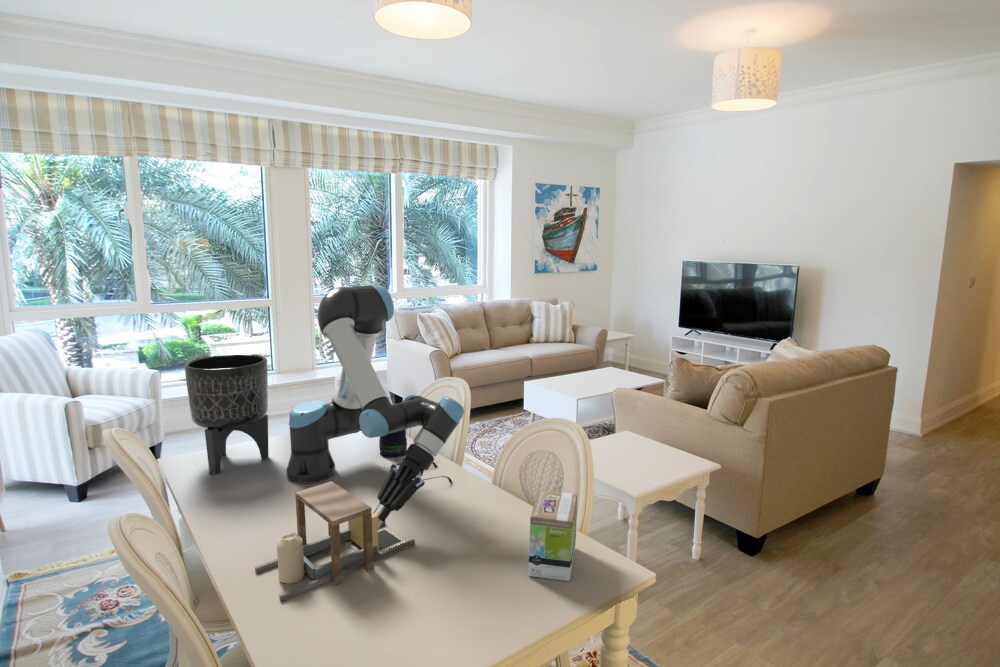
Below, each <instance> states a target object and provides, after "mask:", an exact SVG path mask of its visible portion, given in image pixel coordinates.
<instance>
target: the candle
mask: <svg viewBox="0 0 1000 667" xmlns="http://www.w3.org/2000/svg"><path fill="white" fill-rule="evenodd" d="M276 555H277V557H276V558H277V559H278V566H277V568H278V569H277V573H278V580H279V582H280V583H283V584H286V585H287V584H294V583H297V582H299V581H301V580H302V579H303V578H304V577H305V571H304V554H303V539H302V538H301V537H300V536H298V533H295V532H293V533H290V534H288V535H284V536H282V537H280V539H279V540H278V541H277V543H276Z"/></svg>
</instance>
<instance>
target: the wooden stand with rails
mask: <svg viewBox="0 0 1000 667" xmlns="http://www.w3.org/2000/svg"><path fill="white" fill-rule="evenodd" d="M294 494H295V509H296V510H295V512H296V530H297V535H298V536H300V537H301V538H302V539H303V545H306V544H308V542H307V527H306V526H307V525H306V524H307V523H306V522H307V521H306V508H305V506H306V507H307V508H308V509H310V510H312V512H314V513H315V514H317V515H318V516H319V517H321V518H322V519H323V520H324V521H325V522H327V526H328V527H327V528H328V529H327V530H328V536H330V538H331V547H330V554H331V556H330V558H331V561H332V573H330V574H328V575H326V576H323V577H321V578H318V579H313V580H311V581H309V582H306V583H304V584H301V585H299V586H297V587H295V588H294V587H293V588H292V589H290V590H287V591H285V592H283V593H280V594H279V601H280V602H284V601H286V600H288V599H290V598H293V597H296V596H297V595H300V594H302V593H304V592H305V593H306V592H307V591H309V590H312V589H314V588H317V587H319V586H321V585H323V584H326V583H328V582H331V581H332V583H333V584H334V585H335V586H337V585H339V584H341V583H343V581H342V580H343V578H342V577H343V576H344V575H347V574H349V573H351V572H354V571H357V570H359V569H361V568H363V567H364V568H363V569H364V570H366V571H367V572H369V571H371V570H374V563H375V562H378V561H380V560H382V559H384V557H385V558H387V557H389V556H391V554H392V555H394V554H396V552H397V553H399V552H401V551H404V550H405V549H404V548H406V547H408V548H410V547H409V546H411V545H413V546H415V545H416V540H415V539H413V538H412V539H409V540H407V541H406V542H405V543H402V544H400V545H398V546H395V547H393V548H390V549H388V550H386V551H383V552H381V553H378V554H376V555H374V556H373V541H372V513H373V511H372V507H371V506H370V505H368V504H366V503H365V502H363V501H362V500H360V499H359V498H358V497H356V496H355V495H353V494H351V493H350V492H348V491H347V490H346V489H344V488H342V487H341V486H340V485H338V484H336V483H335V482H333V481H329V482H326V483H321V484H318V485H314V486H312V487H309V488H304V489H302V490H299V491H296V492H295V493H294ZM361 516H363V543H364V560H362V561H359V562H357V563H354V564H352V565H350V566H347V567H345V568H342V569H341V557H342V556H341V555H342V554H341V553H342V552H341V543H340V532H341V530H340V529H341V528H340V524H341V525H342V524H343V523H348V521H349V520H352V519H355V518H358V517H361ZM384 524H385V525H386V520H385V521H384V522H382V524H381V525H380V527H382V525H383V526H385V525H384ZM414 544H415V545H414ZM411 547H412V546H411ZM403 549H404V550H403ZM406 549H407V548H406ZM400 550H401V551H400ZM398 551H399V552H398ZM393 553H394V554H393ZM274 567H278V558H276V559H273V560H270V561H268V562H265V563H262V564H261V565H257V566H255V568H254V570H255V573H256V574H259V573H261V572H264V571H267V570H269V569H271V568H274Z"/></svg>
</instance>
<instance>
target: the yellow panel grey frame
mask: <svg viewBox="0 0 1000 667" xmlns="http://www.w3.org/2000/svg"><path fill="white" fill-rule="evenodd" d="M347 523H348V528H347V529H344V530H340V544H342V543H345V542H347V541H348V542H349V541H354V542H355V543H356V544H357V545H359V546H360V547H361V548H362V549H361V550H358V551H354V552H352V553H348V554H347V555H344V556H341V569H342V568H345V567H347V566H350V565H352V564H354V563H357V562H359V561H362V560H364V543H363V516H361V517H358V518H355V519H352V520H349V521H347ZM378 530H379V528H378V520H377V515H375V514H374V512H372V541H373V556H374V555H376V554H378V553H379V551H378ZM329 548H331V538H330V536H329V535H327V536H325V537H322V538H320V539H317V540H315V541H311V542H309V543H308V542H307V544H306V545H303V554H304V573H305V574H307V575H308V576H309V577H310V578H311V579H312V580H316V579H318V578H321V577H323V576H326V575H328V574H330V573H332V560H331V561H329V562H327V563H324V564H322V565H319V566H316V565H315V564H313V563H312V562H311V561H310V560H309V558H307V557H308V556H310V555H311V556H312V555H314V554H316V553H318V552H321V551H324V550H327V549H329Z"/></svg>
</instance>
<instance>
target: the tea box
mask: <svg viewBox="0 0 1000 667" xmlns="http://www.w3.org/2000/svg"><path fill="white" fill-rule="evenodd" d="M577 514H578V493H569V492H561V491H560V492H559V491H548V490H538V492H537V495H536V499H535V502H534V505H533V508H532V511H531V514H530V517H529V520H530V521H529V523H530V524H529V546H528V548H529V549H528V569H527V570H528V573H527V574H528V576H529V577H534V578H541V579H548V580H556V581H565V582H570V580H571V576H572V571H573V563H574V556H575V550H576V543H577V542H576V540H577V539H576V537H577V516H578V515H577Z"/></svg>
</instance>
